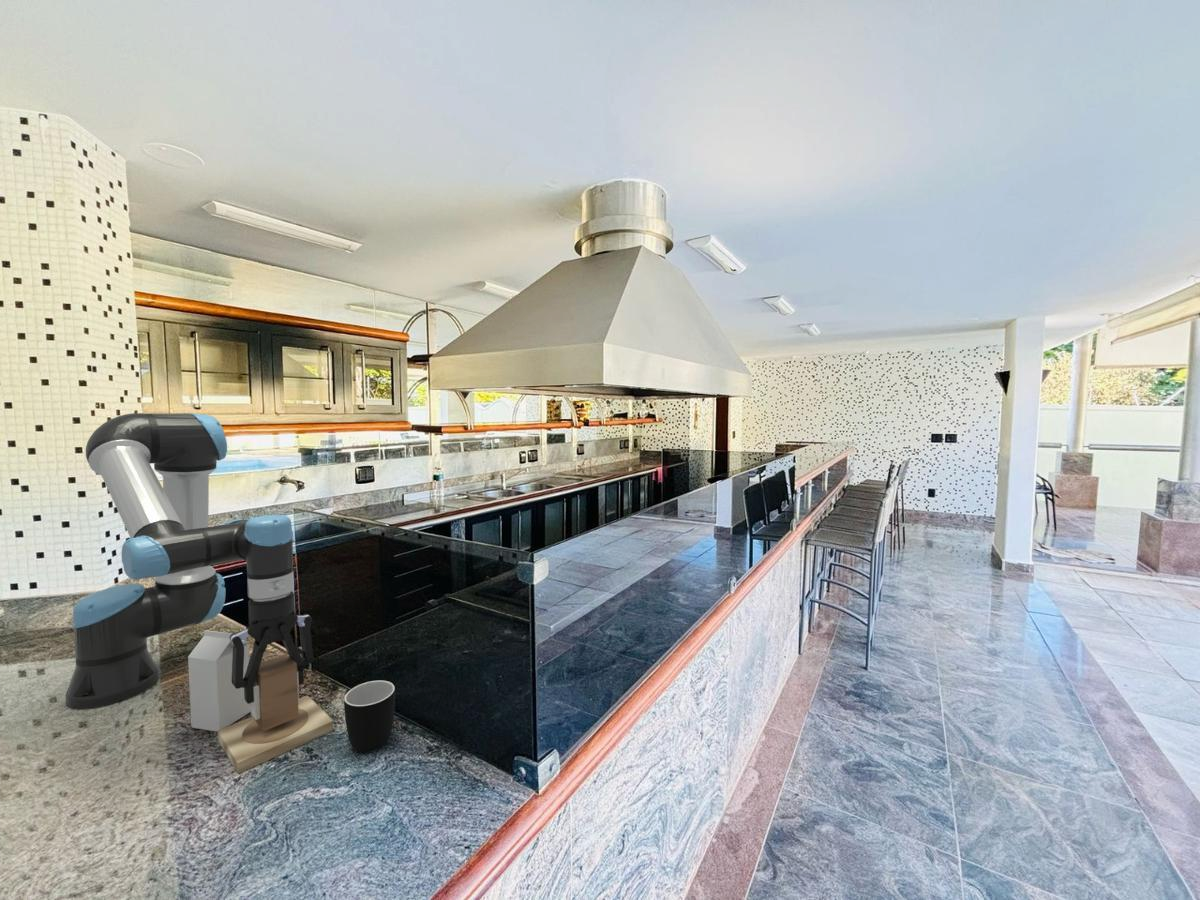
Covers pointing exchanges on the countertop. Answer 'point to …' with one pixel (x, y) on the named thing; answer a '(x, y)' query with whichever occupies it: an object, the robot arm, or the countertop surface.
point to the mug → (369, 715)
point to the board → (272, 736)
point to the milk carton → (215, 683)
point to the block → (277, 691)
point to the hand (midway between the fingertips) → (275, 708)
